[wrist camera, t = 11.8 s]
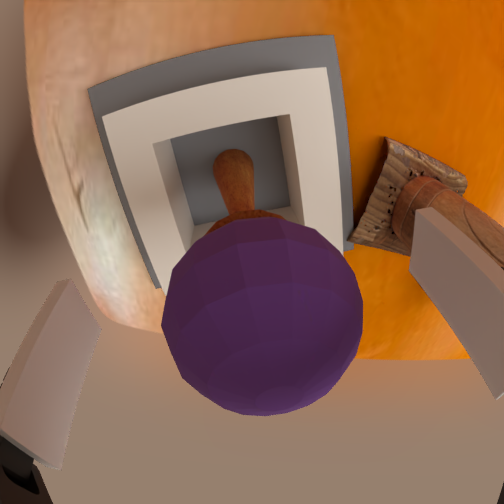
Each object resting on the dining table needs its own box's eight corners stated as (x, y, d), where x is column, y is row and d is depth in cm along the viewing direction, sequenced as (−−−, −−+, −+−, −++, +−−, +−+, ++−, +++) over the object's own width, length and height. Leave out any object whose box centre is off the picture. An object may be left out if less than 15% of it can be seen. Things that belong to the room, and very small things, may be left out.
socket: (92, 88, 20) (54, 92, 14) (329, 36, 19) (362, 23, 14) (157, 282, 30) (145, 327, 24) (350, 244, 29) (375, 281, 24)
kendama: (209, 211, 25) (207, 455, 8) (186, 145, 22) (97, 347, 5) (277, 191, 25) (385, 412, 8) (260, 124, 22) (408, 263, 5)
